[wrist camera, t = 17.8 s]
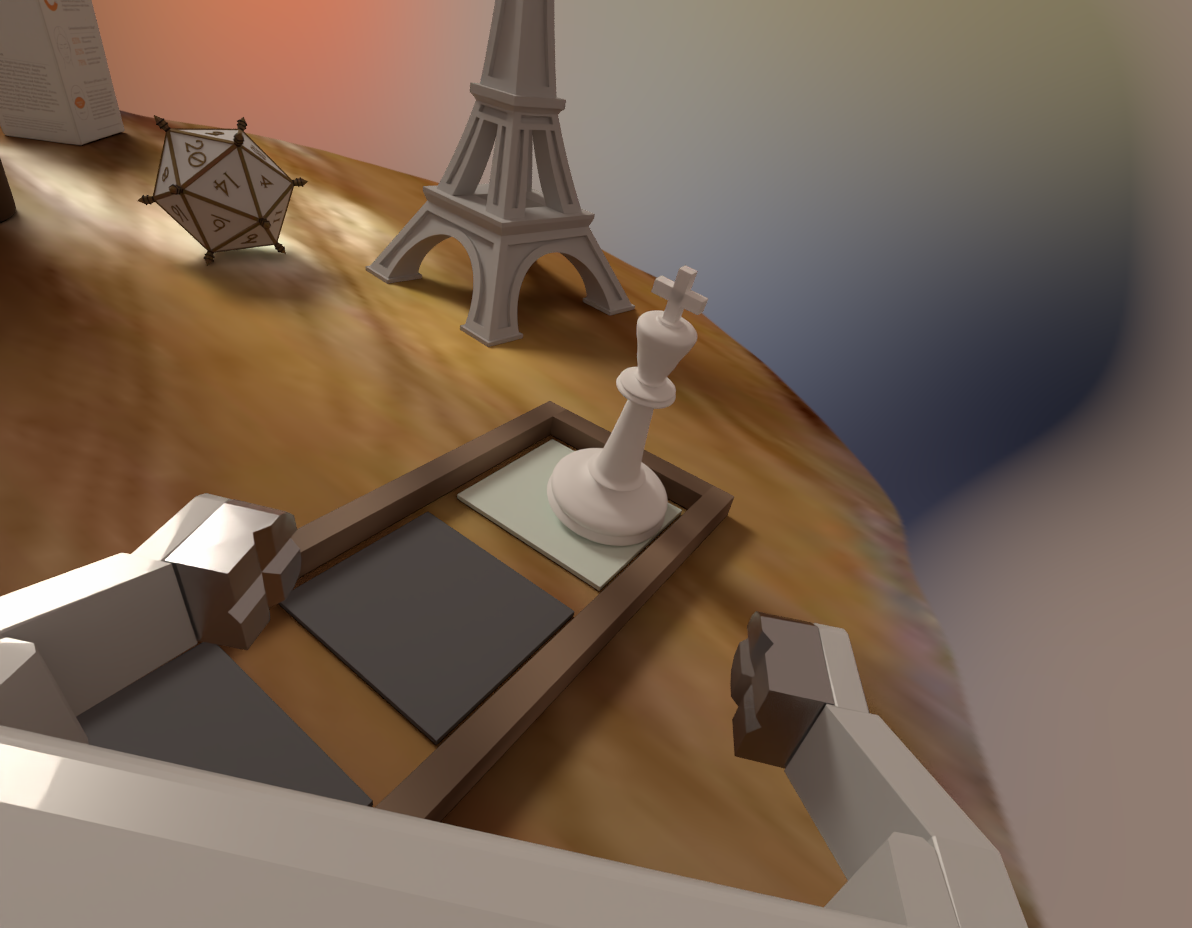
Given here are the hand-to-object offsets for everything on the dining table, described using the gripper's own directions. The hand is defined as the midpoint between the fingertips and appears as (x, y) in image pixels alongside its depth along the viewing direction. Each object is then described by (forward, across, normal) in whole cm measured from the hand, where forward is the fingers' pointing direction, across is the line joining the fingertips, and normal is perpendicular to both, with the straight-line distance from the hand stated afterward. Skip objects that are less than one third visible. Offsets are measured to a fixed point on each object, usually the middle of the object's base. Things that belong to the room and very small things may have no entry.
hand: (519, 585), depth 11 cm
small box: (+51, -55, -8) cm, 76 cm away
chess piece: (+12, +1, -8) cm, 14 cm away
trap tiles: (+2, -5, -8) cm, 10 cm away
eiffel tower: (+34, -9, -8) cm, 36 cm away
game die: (+31, -26, -8) cm, 41 cm away
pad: (+12, 0, -8) cm, 14 cm away
